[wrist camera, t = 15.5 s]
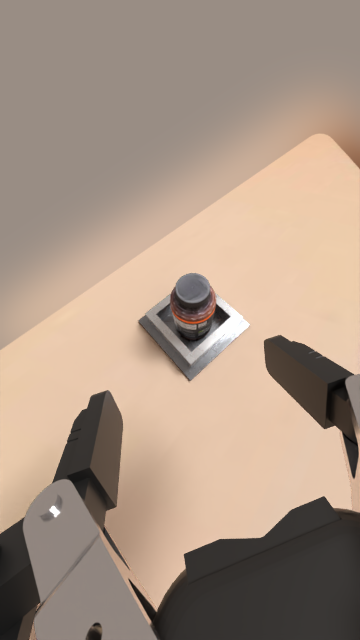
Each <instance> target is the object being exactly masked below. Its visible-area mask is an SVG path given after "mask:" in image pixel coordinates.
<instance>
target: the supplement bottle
mask: <svg viewBox="0 0 360 640" xmlns="http://www.w3.org/2000/svg"><path fill="white" fill-rule="evenodd" d="M170 306H171V310H172V314H173V318H174V322H175V326H176V328H177V330H178V332H179V333H180V335H182V336H183V337H185V338H187V339H190V340H196V339H200V338H203V337H204V336H206V335H207V334H208V332H209V331H210V329H211V326H212V321H213V316H214V312H215V306H216V295H215V292H214V290H213V288H212V287H211V286H210V284H209V282H208V280H207V279H206V278H205V277H204V276H202V275H200V274H196V273H189V274H186V275H184V276H182V277H181V278H180V279H179V280H178V281H177V283H176V286H175V288H174V289H173V290H172V292H171V295H170Z"/></svg>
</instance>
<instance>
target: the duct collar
mask: <svg viewBox="0 0 360 640" xmlns="http://www.w3.org/2000/svg"><path fill="white" fill-rule="evenodd" d="M170 295H171V294H169V295H168V296H167V297H166V298H164V299H163V300H162V301H161V302H159V303H158V304H157V305H155V306H154V307H153V308H152V309H150V310H149V311H148V312H147V313H145V316H144V317H142V318H141V319H140V320H139V323H140V324H141V325H142V326H143V327H144V328H145V329H146V331H147V332H148V333H149V334H150V335H151V336H152V337H153V339H154V340H155V341H156V342H157V343H158V344H159V345H160V347H161V348H162V349H163V350H164V351H165V352H166V353H167V355H168V356H169V357H170V358H171V359H172V360H173V361H174V363H175V364H176V365H177V366H178V367H179V368H180V369H181V371H182V372H183V373H184V374H185V375H186V376H187V377H188V379H189V380H190V381H191V380H192V379H193V378H194V377H195V376H196V375H197V374H198V373H199V372H201V371H202V370H203V369H204V368H205V367H206V366H207V365H208V364H209V363H210V362H211V361H212V360H213V359H214V358H215V357H217V356H218V355H219V354H220V353H221V352H222V351H223V350H224V349H225V348H226V347H227V346H228V345H229V344H230V343H231V342H233V341H234V340H235V339H236V338H237V337H238V336H239V335H240V334H241V333H242V332H243V331H244V330H245V329H246V328H247V327H249V326H250V324H249V323H247V322H246V321H245V320H244V319H243V318H242V316H241V315H240V314H239V313H238V312H236V311H235V310H234V309H233V308H232V307H231V306H230V305H228V304H227V303H226V302H225V301H224V300H223V299H222V298H221V297H219V296H218V295H217V294H216V293H215V295H216V306H215V312H214V316H213V321H212V326H211V329H210V331H209V332H208V334H207V335H206V336H204V337H203V338H200V339H196V340H190V339H187V338H185V337H183V336H182V335H180V333H179V332H178V330H177V328H176V326H175V322H174V318H173V314H172V310H171V306H170Z"/></svg>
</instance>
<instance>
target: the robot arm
mask: <svg viewBox="0 0 360 640" xmlns="http://www.w3.org/2000/svg"><path fill="white" fill-rule="evenodd" d="M264 351H265V363H266V368H267V370H268V372H269V374H270V375H271V376H272V377H273V378H274V379H275V380H276V381H277V382H278V383H279V384H280V385H281V386H282V387H283V388H284V389H285V390H286V391H287V392H288V393H289V394H290V395H291V396H292V397H293V398H294V399H295V400H296V401H297V402H298V403H299V404H300V405H301V406H302V407H303V408H304V409H305V410H306V411H307V412H308V413H309V414H310V415H311V416H312V417H313V418H314V419H315V420H316V421H317V422H318V423H319V424H320V425H321V426H322V427H323V428H324V429H327V428H329V427H332V426H336V427H337V428H338V429H340V439H341V444H342V448H343V453H344V457H345V462H346V467H347V471H348V476H349V480H350V486H351V499H352V510H353V511H352V510H348V509H339V508H333V507H332V506H331V505H330V503H329V502H328V501H327V499H326V498H325V497H321V498H319V499H316V500H314V501H311V502H309V503H307V504H304V505H302V506H299V507H297V508H295V509H292V510H291V511H290V512H289V513H288V514H287V515H286V516H285V517H284V518H282V519H281V520H280V521H279V522H278V523H277V524H276V525H275V526H274V527H273V528H272V529H271V530H270V531H269V532H268V533H267V534H266V535H265V536H264V537H261V538H248V539H219V540H217V541H214V542H212V543H210V544H207V545H205V546H202V547H200V548H198V549H195V550H193V551H190V552H188V553H185V554H184V558H185V565H186V569H185V570H184V571H183V572H182V573H181V574H180V575H179V576H178V577H177V578H176V580H175V581H174V582H173V583H172V585H171V586H170V588H169V590H168V591H167V593H166V594H165V596H164V598H163V600H162V602H161V604H160V606H159V608H158V610H157V608H156V607H155V605H154V603H153V602H152V600H151V598H150V597H149V595H148V594H147V592H146V591H145V589H144V588H143V586H142V585H141V583H140V582H139V580H138V579H137V577H136V576H135V574H134V573H133V571H132V569H131V568H130V566H129V564H128V563H127V561H126V559H125V558H124V556H123V554H122V553H121V551H120V550H119V548H118V546H117V545H116V543H115V541H114V540H113V538H112V536H111V535H110V533H109V531H108V530H107V528H106V526H105V525H104V521H105V513H106V511H107V510H110V509H112V508H115V507H116V506H117V494H118V482H119V469H120V457H121V444H122V432H123V420H122V416H121V413H120V411H119V409H118V407H117V405H116V403H115V401H114V399H113V397H112V394H111V393H110V391H109V390H107V391H104V392H101V393H98V394H95V395H92V396H91V398H90V401H89V404H88V407H87V409H84V410H82V411H81V413H80V414H79V415H78V417H77V418H76V419H75V421H74V423H73V426H72V429H71V434H70V435H69V437H68V440H67V444H66V446H65V449H64V451H63V454H62V457H61V460H60V463H59V466H58V468H57V471H56V474H55V477H54V480H53V482H52V484H51V485H49V486H48V487H46V488H45V489H44V490H43V491H42V492H41V493H40V494H39V495H38V496H37V497H36V498H35V500H34V501H33V503H32V504H31V506H30V507H29V509H28V511H27V513H26V516H25V517H24V518H23V519H21V520H20V521H18V522H17V523H16V524H14V525H13V526H11V527H10V528H8V529H7V530H5V531H4V532H2V533H1V534H0V640H29V637H30V633H31V628H32V624H33V620H34V627H35V634H36V639H37V640H360V374H357V375H354V374H352V373H351V372H349V371H348V370H346V369H344V368H343V367H341V366H339V365H338V364H336V363H334V362H333V361H331V360H329V359H328V358H326V357H323V356H322V355H321V354H320V353H318V352H315V351H314V350H313V349H311V348H310V347H308V346H306V345H305V344H301V343H298V342H295V341H292V342H291V341H289V340H288V339H286V338H284V337H283V336H281V335H278V336H275V337H272V338H269V339H266V340H265V341H264ZM40 602H41V605H40V607H39V608H38V609H37V611H36V608H37V605H38V604H39V603H40Z"/></svg>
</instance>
